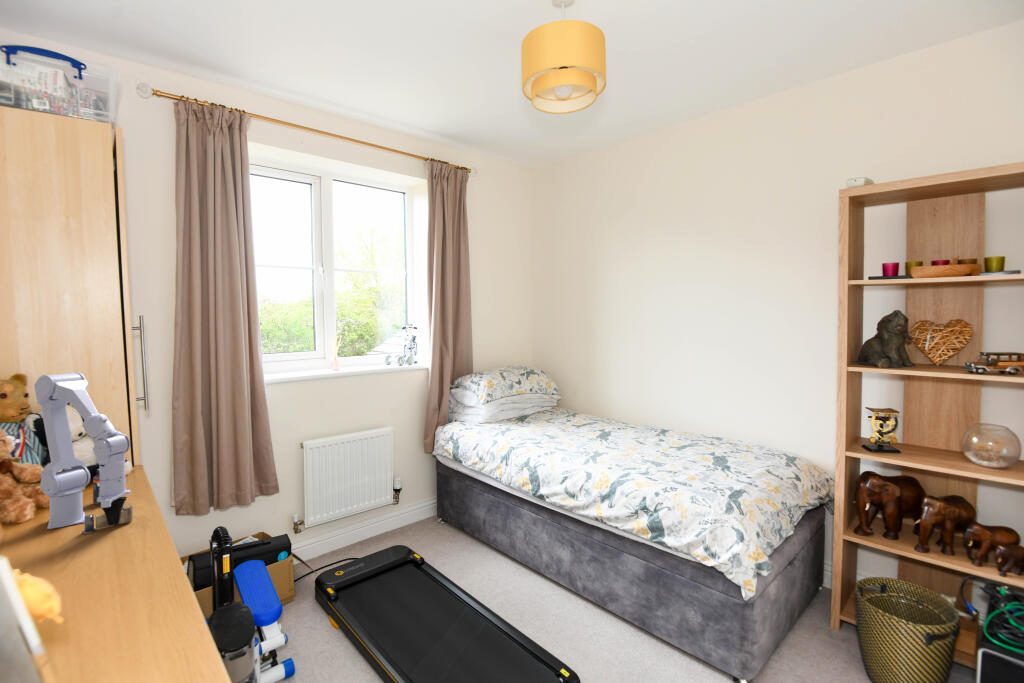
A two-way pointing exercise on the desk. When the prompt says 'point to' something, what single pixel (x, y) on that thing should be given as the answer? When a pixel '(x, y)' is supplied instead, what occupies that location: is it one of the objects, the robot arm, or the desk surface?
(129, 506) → the white-faced wooden block
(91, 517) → the pivot post
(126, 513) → the light wooden bar
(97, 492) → the supplement bottle
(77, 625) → the desk surface
